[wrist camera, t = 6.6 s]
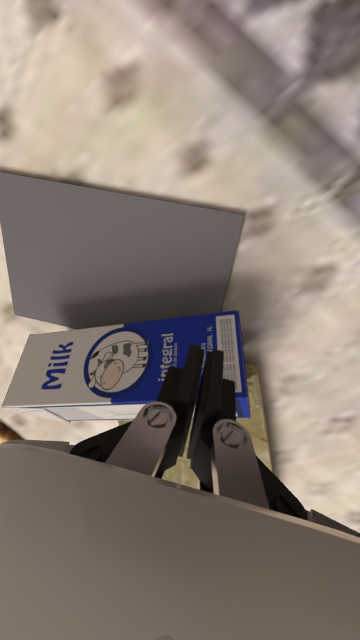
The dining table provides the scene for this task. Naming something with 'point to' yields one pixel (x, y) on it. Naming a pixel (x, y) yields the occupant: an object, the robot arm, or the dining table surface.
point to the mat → (111, 254)
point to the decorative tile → (253, 425)
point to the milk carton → (119, 367)
